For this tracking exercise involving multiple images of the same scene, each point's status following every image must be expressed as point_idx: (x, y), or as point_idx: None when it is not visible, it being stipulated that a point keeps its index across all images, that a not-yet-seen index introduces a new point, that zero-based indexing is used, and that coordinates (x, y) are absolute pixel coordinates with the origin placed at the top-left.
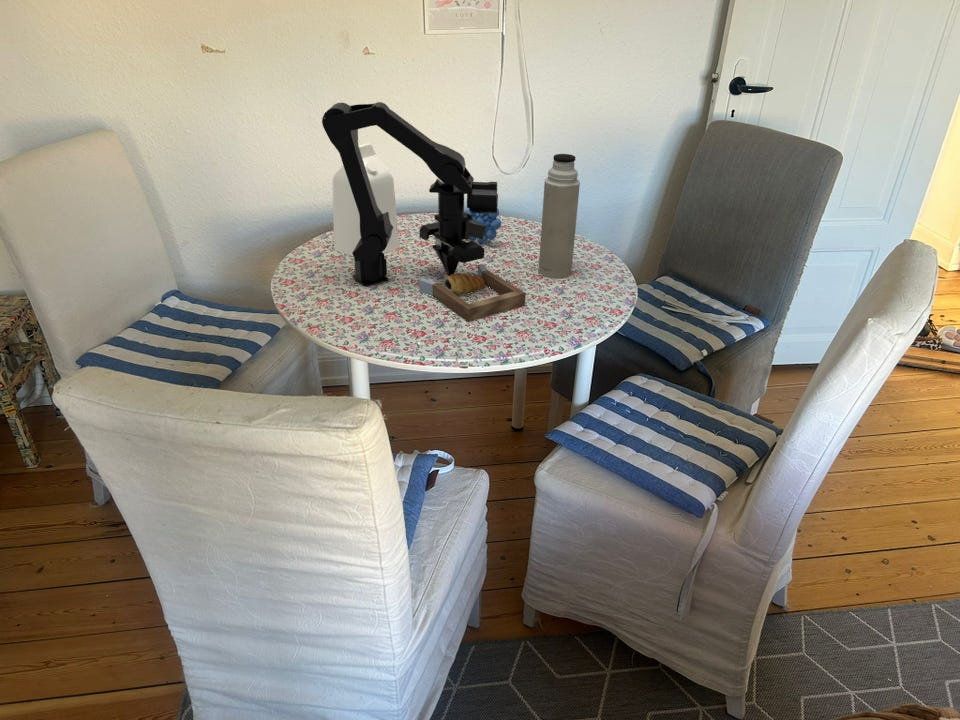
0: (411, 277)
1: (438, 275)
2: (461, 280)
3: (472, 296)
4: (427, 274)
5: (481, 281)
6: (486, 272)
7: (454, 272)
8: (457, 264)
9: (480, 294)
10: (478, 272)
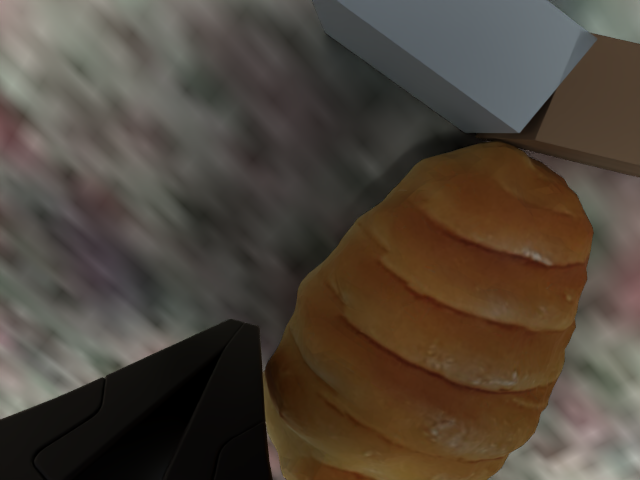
0: (38, 399)
1: (101, 269)
2: (471, 475)
3: (558, 381)
4: (46, 307)
5: (583, 258)
6: (612, 121)
7: (260, 353)
8: (263, 426)
9: (596, 319)
10: (353, 39)
